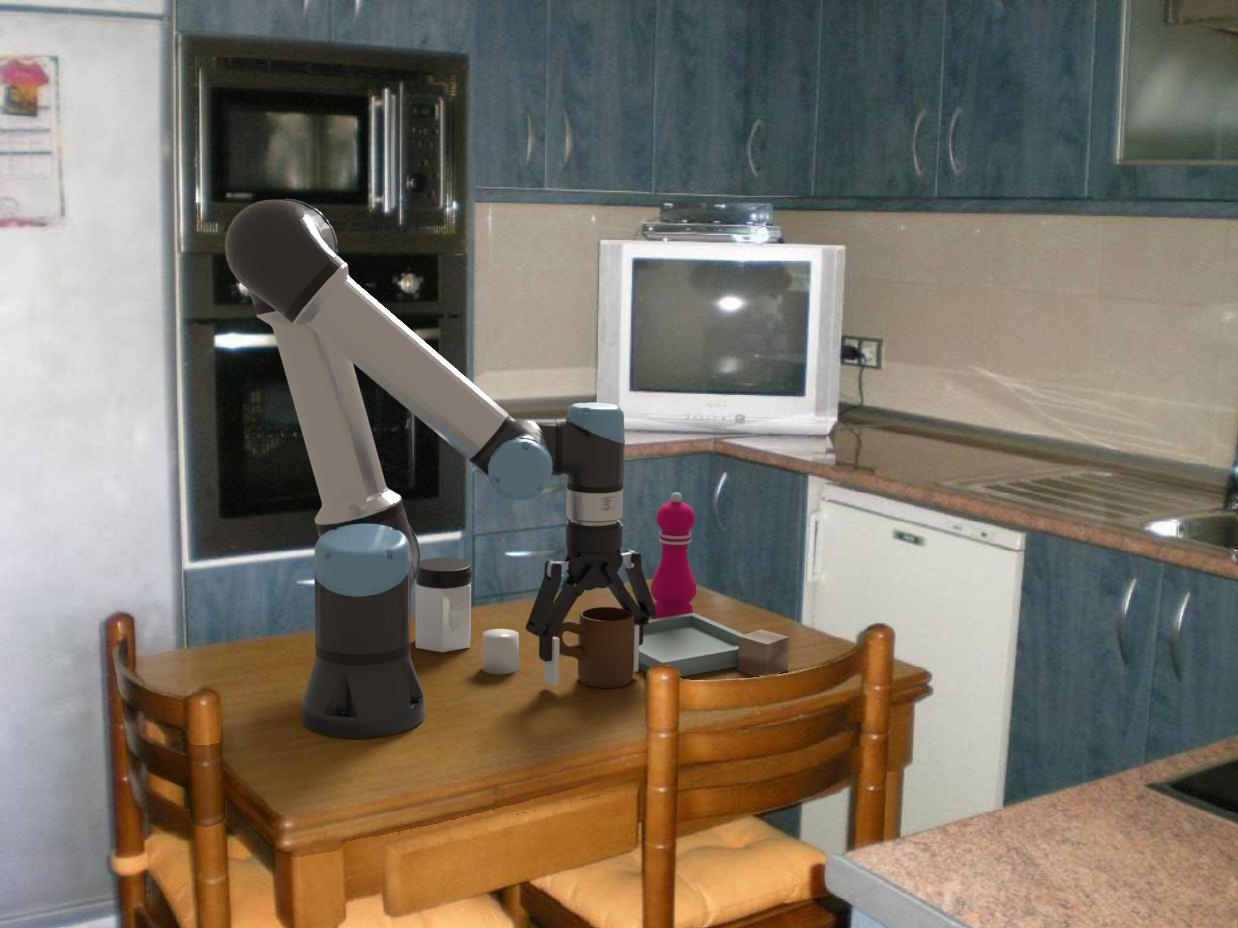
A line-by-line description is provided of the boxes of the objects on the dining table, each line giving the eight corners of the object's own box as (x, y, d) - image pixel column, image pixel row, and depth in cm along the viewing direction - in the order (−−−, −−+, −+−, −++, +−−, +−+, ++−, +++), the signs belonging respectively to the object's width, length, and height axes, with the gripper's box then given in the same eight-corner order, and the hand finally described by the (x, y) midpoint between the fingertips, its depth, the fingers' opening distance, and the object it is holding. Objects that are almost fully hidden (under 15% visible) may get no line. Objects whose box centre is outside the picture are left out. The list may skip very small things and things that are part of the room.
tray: (662, 680, 197) (662, 662, 196) (593, 644, 212) (593, 628, 211) (765, 660, 206) (766, 643, 206) (693, 628, 221) (693, 612, 221)
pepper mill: (657, 607, 232) (661, 486, 228) (700, 612, 230) (705, 490, 226) (644, 619, 225) (647, 494, 222) (688, 624, 223) (692, 498, 219)
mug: (562, 696, 189) (563, 627, 187) (538, 679, 196) (539, 612, 194) (643, 685, 195) (644, 617, 193) (617, 668, 201) (619, 603, 200)
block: (765, 678, 199) (767, 644, 198) (737, 670, 202) (738, 636, 201) (787, 671, 202) (789, 636, 201) (759, 662, 206) (760, 629, 205)
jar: (428, 655, 205) (428, 574, 203) (403, 641, 211) (403, 561, 209) (484, 646, 210) (484, 566, 208) (457, 632, 216) (457, 554, 214)
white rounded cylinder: (492, 676, 197) (492, 641, 196) (475, 666, 201) (476, 631, 200) (524, 671, 199) (525, 636, 198) (507, 661, 203) (508, 626, 203)
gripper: (528, 534, 182) (526, 698, 185) (685, 516, 194) (680, 669, 198) (500, 523, 188) (499, 681, 192) (654, 506, 201) (650, 654, 205)
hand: (591, 675), depth 195 cm, fingers closed on mug, 12 cm apart
